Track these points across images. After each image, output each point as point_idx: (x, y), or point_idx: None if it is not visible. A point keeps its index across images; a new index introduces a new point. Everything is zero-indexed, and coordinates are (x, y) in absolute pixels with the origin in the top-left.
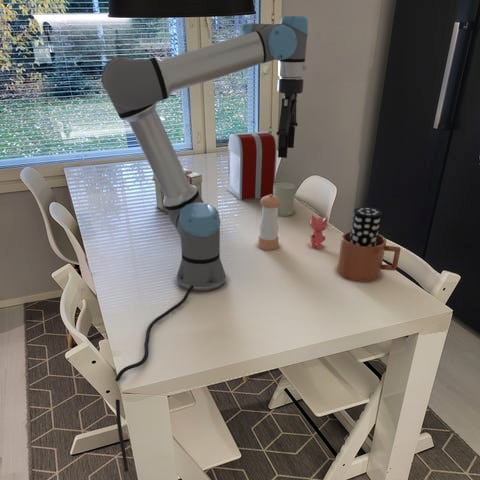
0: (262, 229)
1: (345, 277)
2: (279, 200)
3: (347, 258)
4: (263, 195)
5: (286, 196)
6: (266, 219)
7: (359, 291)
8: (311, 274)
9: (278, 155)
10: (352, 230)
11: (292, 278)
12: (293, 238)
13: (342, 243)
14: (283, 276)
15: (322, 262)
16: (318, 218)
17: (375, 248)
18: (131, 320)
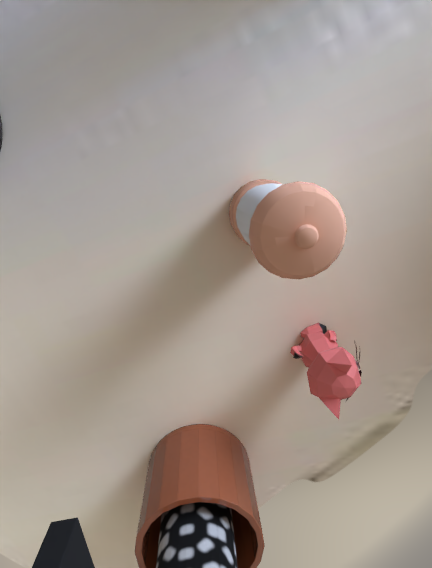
0: (242, 203)
1: (152, 452)
2: (302, 277)
3: (147, 489)
4: None
5: None
6: (249, 221)
7: (106, 488)
8: (134, 379)
9: (44, 546)
10: (172, 552)
11: (88, 346)
12: (347, 264)
13: (165, 495)
14: (86, 322)
15: (216, 383)
16: (338, 386)
17: None
18: None
